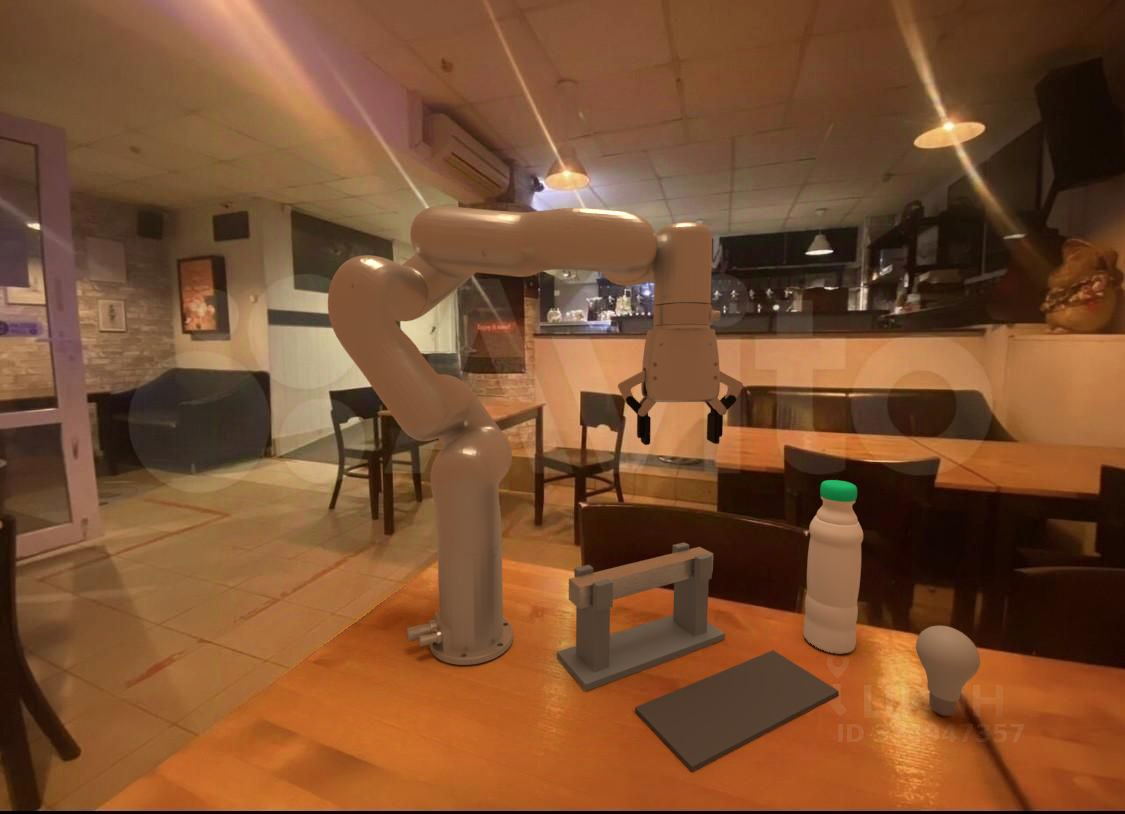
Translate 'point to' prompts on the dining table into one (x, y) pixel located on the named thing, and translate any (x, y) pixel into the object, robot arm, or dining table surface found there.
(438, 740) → the dining table surface
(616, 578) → the rail
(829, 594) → the water bottle
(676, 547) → the rack
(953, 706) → the lightbulb
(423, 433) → the robot arm
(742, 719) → the mat
